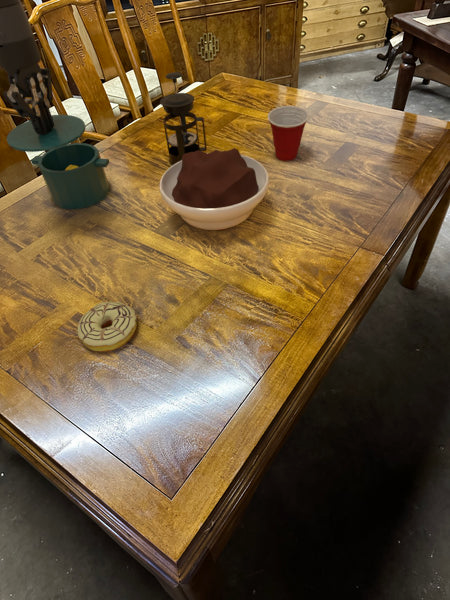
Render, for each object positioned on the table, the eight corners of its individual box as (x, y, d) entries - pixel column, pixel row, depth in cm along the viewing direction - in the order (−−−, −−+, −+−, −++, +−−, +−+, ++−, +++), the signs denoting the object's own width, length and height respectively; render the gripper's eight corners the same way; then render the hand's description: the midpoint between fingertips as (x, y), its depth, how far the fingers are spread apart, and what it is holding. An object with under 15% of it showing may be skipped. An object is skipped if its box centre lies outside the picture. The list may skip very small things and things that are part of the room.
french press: (164, 169, 118) (149, 82, 101) (169, 152, 124) (155, 68, 107) (206, 167, 117) (197, 79, 100) (208, 151, 123) (200, 66, 106)
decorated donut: (140, 308, 81) (136, 294, 78) (137, 352, 74) (132, 339, 71) (87, 313, 81) (81, 300, 78) (78, 358, 74) (71, 345, 71)
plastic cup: (264, 165, 115) (265, 122, 107) (269, 147, 123) (269, 105, 114) (304, 167, 114) (308, 123, 105) (306, 148, 121) (310, 105, 112)
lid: (65, 156, 81) (54, 126, 76) (-7, 152, 83) (-21, 123, 79) (98, 121, 91) (90, 92, 87) (33, 118, 94) (22, 90, 90)
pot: (106, 212, 105) (94, 174, 97) (34, 207, 108) (16, 170, 100) (126, 180, 114) (117, 144, 107) (59, 177, 118) (46, 141, 110)
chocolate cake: (227, 260, 89) (222, 200, 78) (144, 223, 100) (129, 165, 89) (288, 204, 102) (291, 145, 91) (209, 176, 113) (203, 120, 102)
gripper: (12, 23, 79) (46, 115, 92) (-33, 47, 70) (11, 145, 82) (48, 23, 78) (77, 116, 90) (7, 47, 69) (46, 147, 81)
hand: (45, 130), depth 86 cm, fingers closed on lid, 2 cm apart
